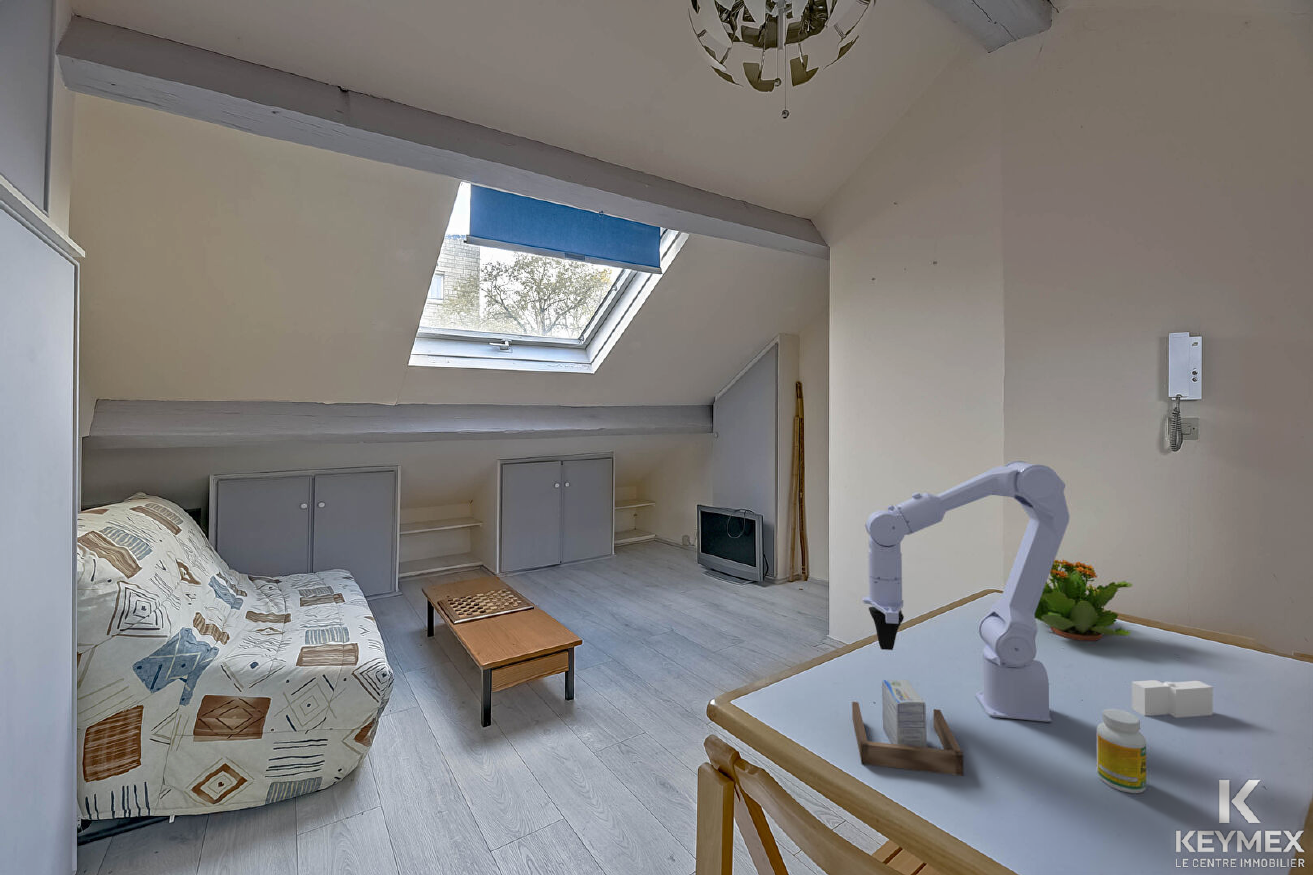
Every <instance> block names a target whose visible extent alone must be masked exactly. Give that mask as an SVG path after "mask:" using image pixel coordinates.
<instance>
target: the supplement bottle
mask: <svg viewBox="0 0 1313 875" xmlns="http://www.w3.org/2000/svg"><path fill="white" fill-rule="evenodd" d="M1140 729H1141V721H1140V718H1139V717H1138V716H1137V715H1135V714H1133V713H1131V712H1128V711H1126V710H1122V709H1118V708H1106V709H1103V710H1102V722H1101V723H1099V724H1098V725H1097V727H1096V774H1097V776H1098V778H1099V779H1100V780H1101V781H1102V782H1103V783H1105V784H1106V785H1107V786H1109V787H1111V788H1112V789H1115V790H1118V791H1121V792H1124V793H1129V794H1141V793H1143V792H1145V791H1146V789H1147V741H1146V737H1145V736H1144V734H1143V733H1141V731H1140Z"/></svg>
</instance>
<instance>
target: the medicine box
mask: <svg viewBox="0 0 1313 875" xmlns="http://www.w3.org/2000/svg"><path fill="white" fill-rule="evenodd" d="M881 689H882V690H881V692H882V693H881V697H882V699H881V700H882V701H881V702H882V729H883V731H884V733H885V735H886V736H887V738H888V740H889V742H890V744H898V745H907V746H916V747H925V748H928V744H927V741H928V740H927V739H928V738H927V734H928V733H927V708H926V706H927V705H926V702H925V701H924V700H923V698H922V697H921V696H920V694H919V693H918V692H917V691H916V689H915V688H914V687H913V685H912V684H911V683H910V680H905V679H883V680H882V681H881Z"/></svg>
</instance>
